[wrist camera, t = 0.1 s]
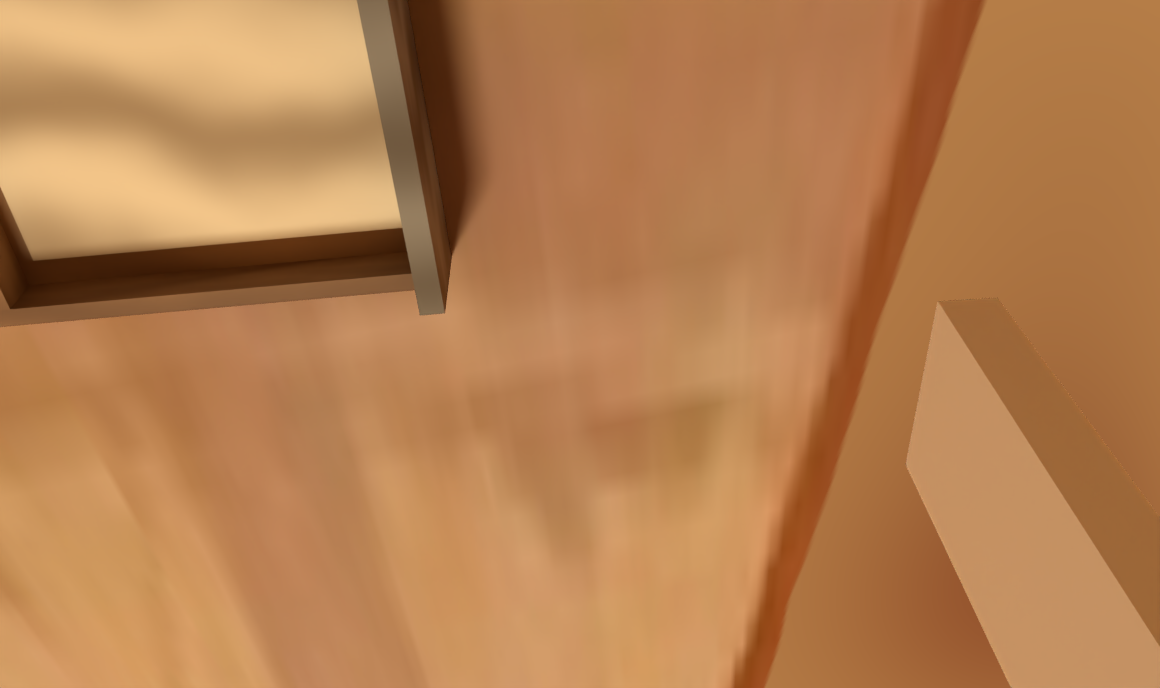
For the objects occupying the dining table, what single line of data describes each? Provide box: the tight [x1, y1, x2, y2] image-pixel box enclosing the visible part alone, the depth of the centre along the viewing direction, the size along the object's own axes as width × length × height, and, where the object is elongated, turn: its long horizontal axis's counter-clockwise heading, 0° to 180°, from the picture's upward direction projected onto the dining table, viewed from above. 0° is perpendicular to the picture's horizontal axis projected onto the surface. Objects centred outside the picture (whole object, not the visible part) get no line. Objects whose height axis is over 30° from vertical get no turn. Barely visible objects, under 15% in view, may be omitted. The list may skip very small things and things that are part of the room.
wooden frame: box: [0, 0, 452, 327], centre depth 37 cm, size 15×19×4 cm
